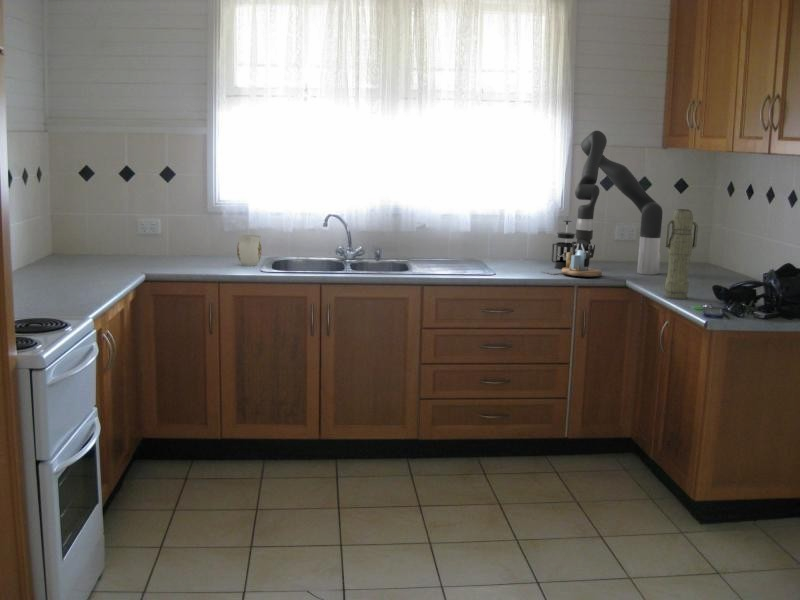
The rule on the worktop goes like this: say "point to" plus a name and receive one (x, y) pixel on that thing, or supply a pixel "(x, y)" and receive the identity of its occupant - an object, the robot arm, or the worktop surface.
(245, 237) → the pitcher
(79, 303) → the worktop surface
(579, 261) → the pale blue carafe
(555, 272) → the slate mat
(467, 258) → the worktop surface
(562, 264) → the french press
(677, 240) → the thermos
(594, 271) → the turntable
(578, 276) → the turntable base
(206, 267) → the worktop surface
